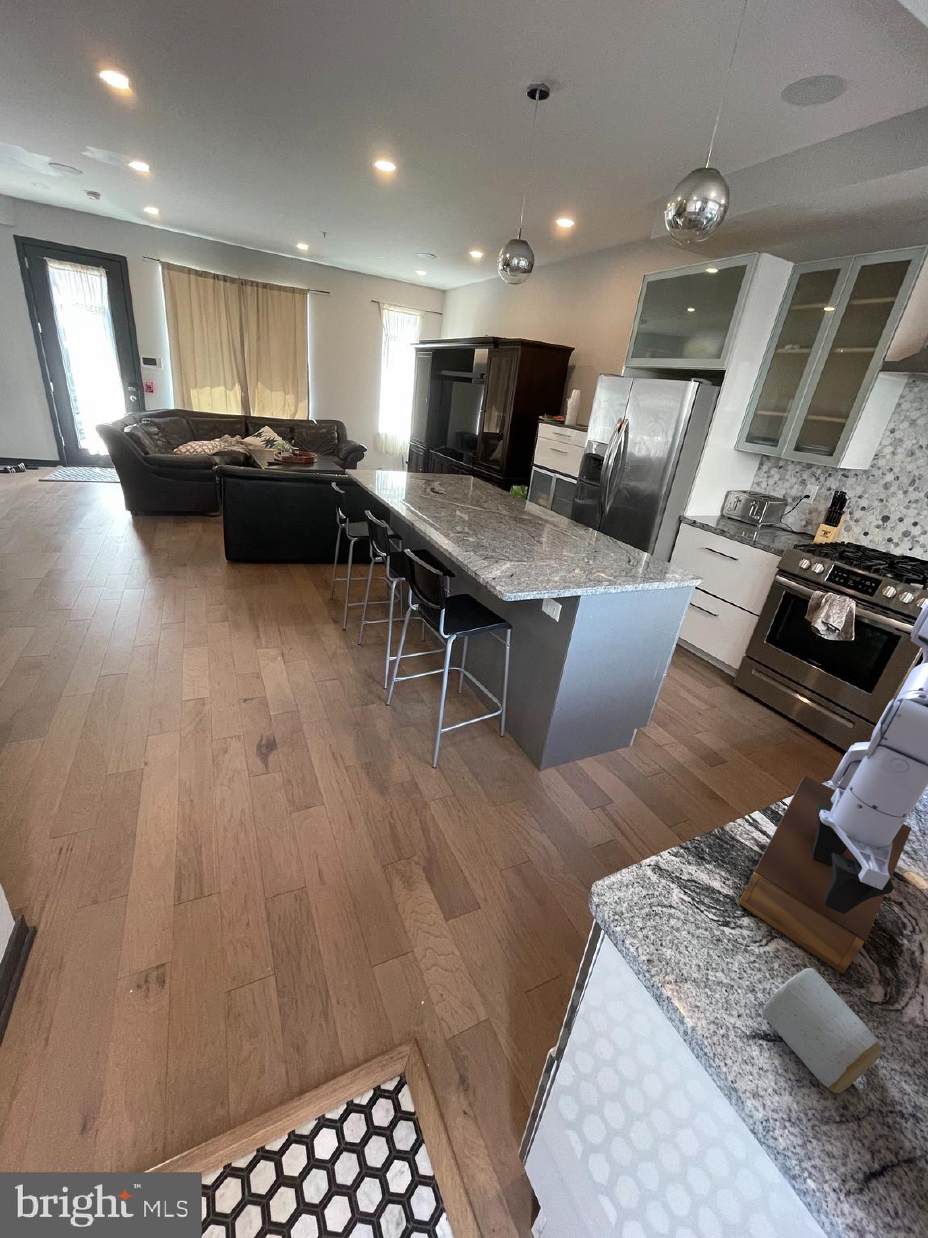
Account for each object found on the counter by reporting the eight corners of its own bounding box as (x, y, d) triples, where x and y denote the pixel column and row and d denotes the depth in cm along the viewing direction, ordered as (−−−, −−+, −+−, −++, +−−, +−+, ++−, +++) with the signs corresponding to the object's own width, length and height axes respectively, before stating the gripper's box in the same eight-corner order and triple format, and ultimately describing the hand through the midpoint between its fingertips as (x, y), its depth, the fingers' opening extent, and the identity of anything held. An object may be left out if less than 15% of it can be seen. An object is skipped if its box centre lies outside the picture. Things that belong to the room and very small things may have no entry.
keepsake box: (767, 847, 81) (781, 819, 79) (860, 902, 74) (878, 873, 72) (738, 903, 70) (753, 873, 68) (842, 974, 63) (863, 943, 61)
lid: (803, 776, 74) (804, 774, 74) (910, 829, 67) (911, 827, 66) (754, 872, 68) (754, 870, 68) (864, 942, 61) (866, 940, 60)
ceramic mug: (826, 1112, 49) (862, 1067, 46) (751, 1024, 56) (778, 979, 53) (880, 1063, 54) (916, 1020, 51) (805, 988, 61) (833, 945, 58)
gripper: (824, 751, 65) (783, 831, 70) (853, 825, 52) (801, 915, 58) (889, 772, 63) (841, 853, 68) (936, 855, 50) (873, 946, 55)
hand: (827, 883), depth 63 cm, fingers open, 7 cm apart
